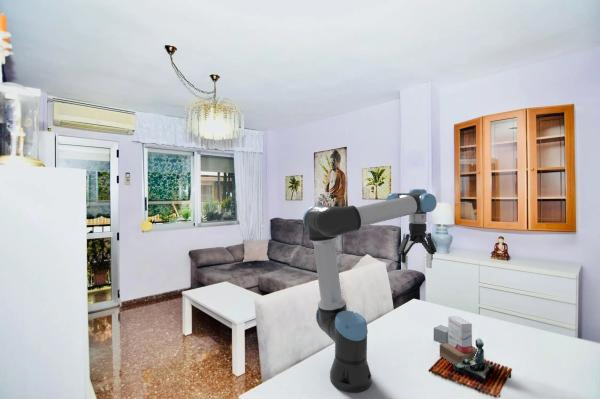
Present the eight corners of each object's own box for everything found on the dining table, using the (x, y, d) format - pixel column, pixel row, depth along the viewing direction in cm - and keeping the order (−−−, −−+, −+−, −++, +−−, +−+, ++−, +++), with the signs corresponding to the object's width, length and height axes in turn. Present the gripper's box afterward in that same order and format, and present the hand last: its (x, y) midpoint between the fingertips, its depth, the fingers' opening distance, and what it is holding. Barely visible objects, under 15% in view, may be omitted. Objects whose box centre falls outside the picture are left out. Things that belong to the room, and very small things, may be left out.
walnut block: (459, 369, 118) (459, 356, 118) (439, 356, 128) (439, 344, 127) (481, 363, 122) (481, 351, 122) (460, 351, 132) (461, 340, 131)
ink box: (472, 352, 121) (473, 323, 121) (461, 354, 120) (462, 324, 120) (457, 342, 129) (458, 315, 129) (447, 343, 129) (447, 316, 128)
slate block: (445, 345, 137) (445, 332, 137) (433, 340, 142) (433, 327, 142) (452, 342, 140) (453, 329, 140) (440, 337, 145) (440, 324, 145)
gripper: (400, 224, 130) (399, 272, 130) (445, 222, 138) (444, 268, 138) (389, 222, 137) (389, 268, 137) (433, 221, 145) (432, 265, 145)
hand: (417, 268), depth 138 cm, fingers open, 13 cm apart
